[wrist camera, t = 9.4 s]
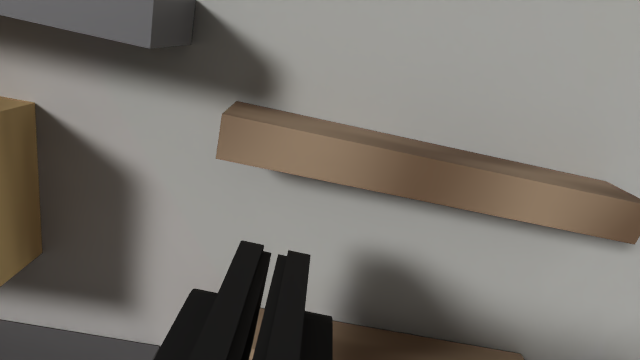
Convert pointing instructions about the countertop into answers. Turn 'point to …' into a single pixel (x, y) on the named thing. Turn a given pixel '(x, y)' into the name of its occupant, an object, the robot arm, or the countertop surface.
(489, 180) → the chute
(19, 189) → the ochre block
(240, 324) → the robot arm
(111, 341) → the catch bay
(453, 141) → the countertop surface
